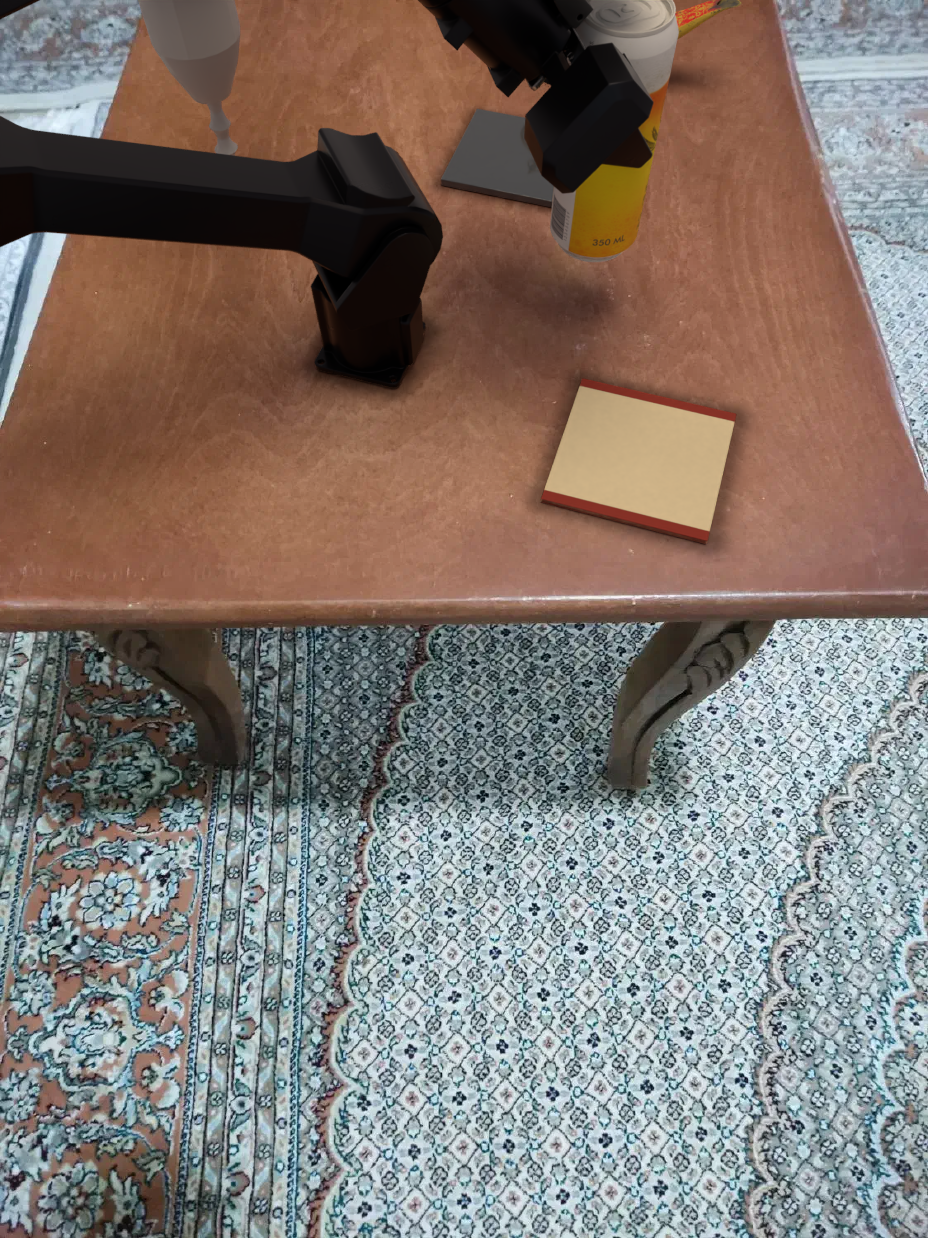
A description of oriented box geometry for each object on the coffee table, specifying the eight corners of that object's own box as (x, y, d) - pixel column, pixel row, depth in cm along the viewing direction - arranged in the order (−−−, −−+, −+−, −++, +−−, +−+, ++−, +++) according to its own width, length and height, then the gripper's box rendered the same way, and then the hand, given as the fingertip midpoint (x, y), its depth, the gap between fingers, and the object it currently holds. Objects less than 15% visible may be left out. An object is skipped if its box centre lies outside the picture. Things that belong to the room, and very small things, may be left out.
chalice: (221, 244, 70) (147, -3, 54) (181, 199, 73) (100, -49, 57) (300, 207, 72) (251, -42, 56) (258, 164, 75) (200, -84, 59)
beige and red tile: (540, 502, 58) (541, 498, 58) (581, 381, 63) (582, 377, 63) (706, 544, 57) (707, 540, 56) (735, 417, 61) (736, 413, 61)
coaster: (440, 185, 73) (440, 178, 73) (476, 114, 78) (476, 107, 77) (557, 208, 72) (557, 202, 71) (587, 135, 76) (587, 128, 76)
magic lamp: (723, 105, 78) (759, -35, 68) (520, 96, 79) (527, -43, 69) (720, 59, 81) (753, -80, 72) (524, 52, 82) (531, -87, 72)
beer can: (653, 247, 61) (705, 15, 48) (581, 279, 60) (615, 48, 47) (602, 198, 64) (638, -35, 51) (532, 228, 62) (551, -5, 49)
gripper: (648, -111, 36) (807, 115, 47) (521, -288, 44) (681, -62, 55) (459, 109, 42) (639, 264, 53) (380, -84, 50) (549, 83, 61)
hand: (628, 129), depth 55 cm, fingers closed on beer can, 6 cm apart
